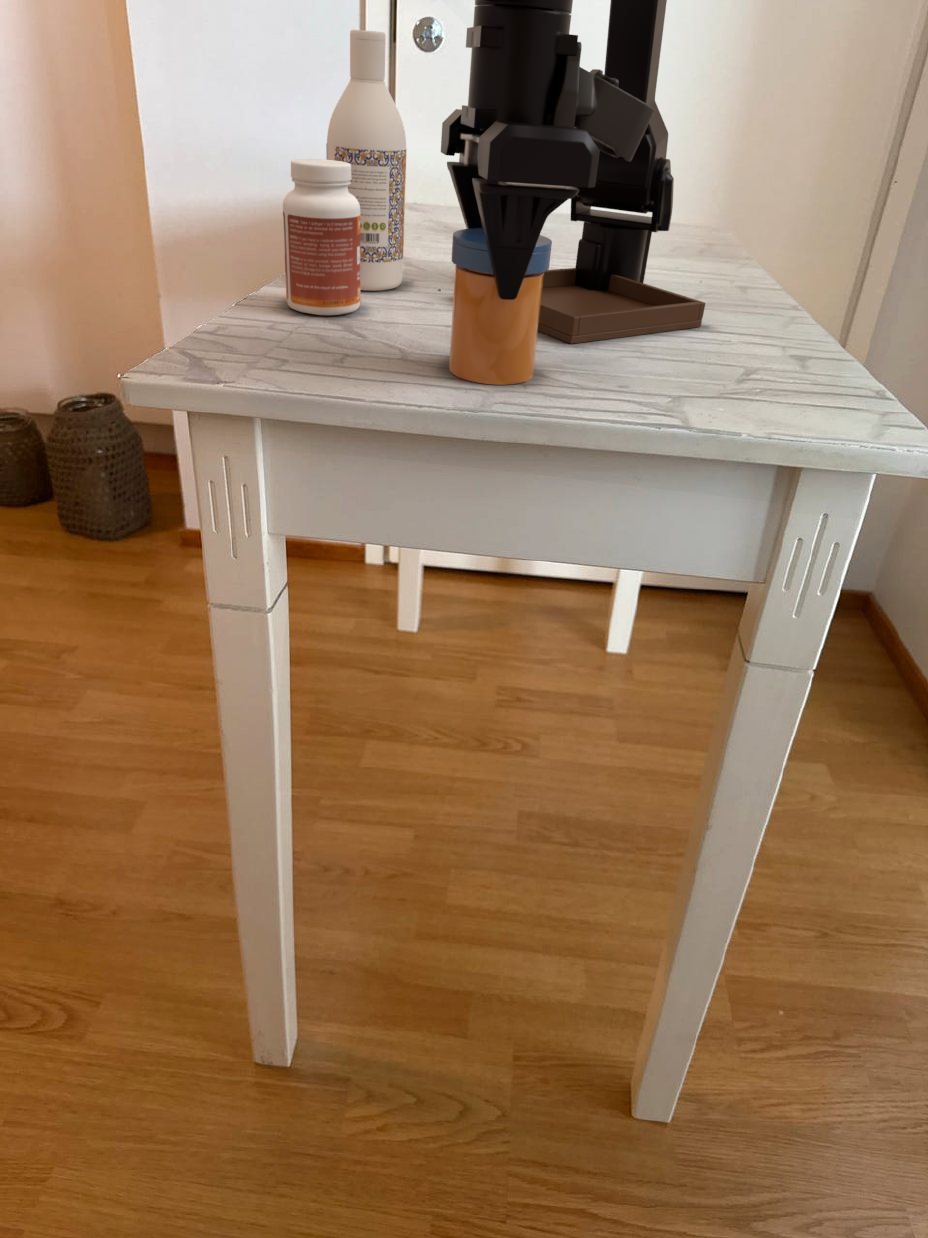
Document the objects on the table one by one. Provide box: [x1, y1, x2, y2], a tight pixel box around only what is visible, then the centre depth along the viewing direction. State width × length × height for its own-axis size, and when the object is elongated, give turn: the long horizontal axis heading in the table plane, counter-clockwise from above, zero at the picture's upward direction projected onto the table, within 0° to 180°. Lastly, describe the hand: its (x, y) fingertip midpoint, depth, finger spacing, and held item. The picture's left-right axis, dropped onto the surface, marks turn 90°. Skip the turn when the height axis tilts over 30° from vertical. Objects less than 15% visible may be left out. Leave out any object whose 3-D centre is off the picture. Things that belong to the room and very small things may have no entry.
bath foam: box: [325, 29, 407, 292], centre depth 79 cm, size 7×7×20 cm
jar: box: [448, 264, 544, 386], centre depth 62 cm, size 6×6×8 cm
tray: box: [538, 267, 706, 345], centre depth 80 cm, size 15×15×2 cm
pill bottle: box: [282, 158, 361, 316], centre depth 73 cm, size 6×6×11 cm
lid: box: [451, 228, 553, 275], centre depth 59 cm, size 7×6×2 cm
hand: (497, 288), depth 61 cm, fingers closed on lid, 6 cm apart
